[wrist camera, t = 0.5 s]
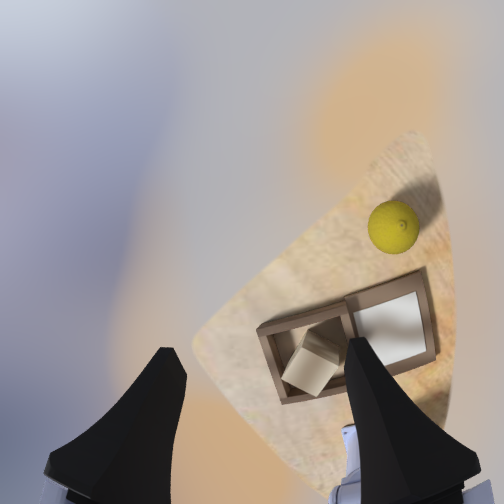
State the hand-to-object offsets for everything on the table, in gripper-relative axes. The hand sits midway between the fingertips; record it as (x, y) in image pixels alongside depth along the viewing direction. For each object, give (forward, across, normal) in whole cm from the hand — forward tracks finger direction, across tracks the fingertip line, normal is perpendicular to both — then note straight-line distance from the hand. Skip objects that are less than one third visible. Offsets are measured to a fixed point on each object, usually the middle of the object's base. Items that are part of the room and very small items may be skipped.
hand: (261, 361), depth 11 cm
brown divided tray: (+15, -9, +18) cm, 25 cm away
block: (+15, -4, +19) cm, 25 cm away
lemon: (+21, -14, +6) cm, 26 cm away
